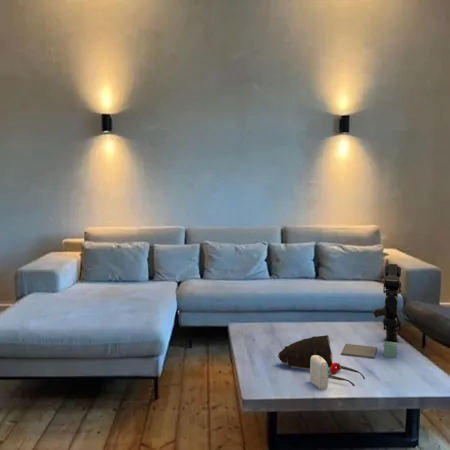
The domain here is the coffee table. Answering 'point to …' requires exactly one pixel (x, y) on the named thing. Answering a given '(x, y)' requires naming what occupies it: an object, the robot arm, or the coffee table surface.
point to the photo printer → (319, 372)
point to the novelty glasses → (334, 370)
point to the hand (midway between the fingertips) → (390, 334)
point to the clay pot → (306, 352)
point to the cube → (390, 349)
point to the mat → (359, 351)
